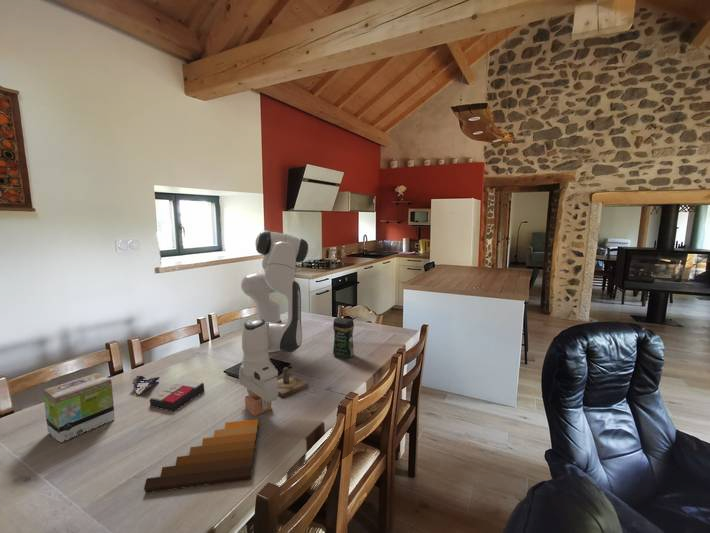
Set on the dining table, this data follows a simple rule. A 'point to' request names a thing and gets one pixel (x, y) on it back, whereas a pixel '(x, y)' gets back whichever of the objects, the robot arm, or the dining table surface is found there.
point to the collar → (255, 404)
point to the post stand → (289, 384)
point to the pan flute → (213, 459)
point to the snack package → (140, 378)
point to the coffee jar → (343, 338)
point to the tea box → (78, 405)
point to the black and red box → (177, 394)
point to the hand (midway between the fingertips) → (258, 403)
